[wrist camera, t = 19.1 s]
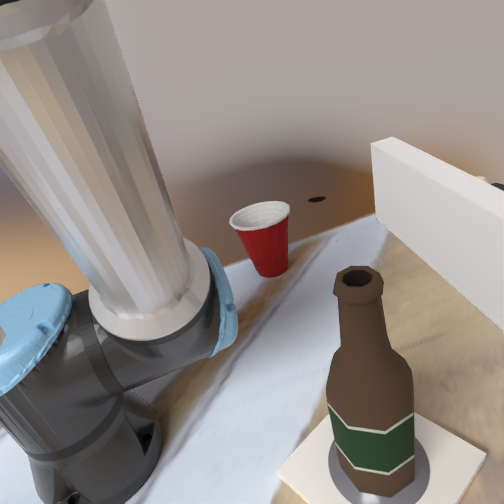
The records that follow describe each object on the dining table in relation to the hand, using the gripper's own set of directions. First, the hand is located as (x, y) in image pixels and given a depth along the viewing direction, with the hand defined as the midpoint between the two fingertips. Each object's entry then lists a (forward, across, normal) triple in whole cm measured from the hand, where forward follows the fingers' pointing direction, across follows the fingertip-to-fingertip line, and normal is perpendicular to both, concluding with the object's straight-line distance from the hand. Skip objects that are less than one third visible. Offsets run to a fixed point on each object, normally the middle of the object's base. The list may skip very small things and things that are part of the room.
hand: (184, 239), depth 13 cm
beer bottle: (+12, +10, -37) cm, 40 cm away
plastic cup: (+53, +9, -38) cm, 66 cm away
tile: (+12, +10, -38) cm, 41 cm away
